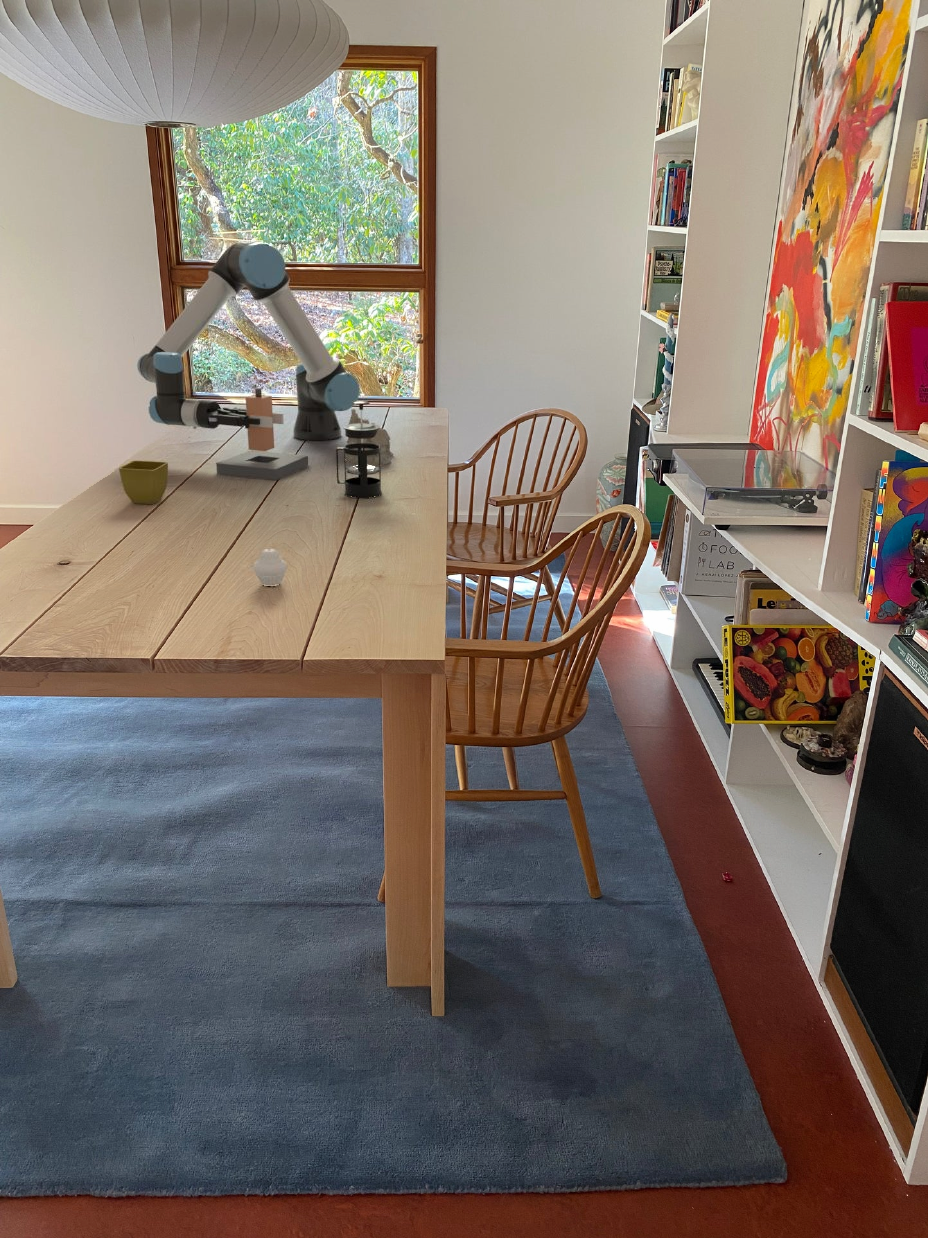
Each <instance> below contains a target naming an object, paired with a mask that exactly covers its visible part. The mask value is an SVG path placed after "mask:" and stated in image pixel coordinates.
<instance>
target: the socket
mask: <svg viewBox="0 0 928 1238" xmlns="http://www.w3.org/2000/svg"><path fill="white" fill-rule="evenodd" d="M215 466H216V473H217V474H216V475H221V476H223V475H224V476H233V477H241V478H250V479H258V478H261V479H260V480H266V481H267V480H268V481H279V480H280V478H281V479H283V478H285V477H287V476H290V475H292V474H294V473H296V471H297V472H299V471H301V470H303V469H304V470H305V469H306V468H307V466H308V467H309V455H305V454H304V455H303V454H296V453H295V454H293V453H285V452H275V451H274V452H273V451H257V450H249V451H246V452H243V453H240V454H237V455H235V456H232V457H229V458H227V459H224V460H221V461H218V462H216V463H215Z"/></svg>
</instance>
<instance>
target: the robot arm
mask: <svg viewBox="0 0 928 1238" xmlns="http://www.w3.org/2000/svg"><path fill="white" fill-rule="evenodd" d="M207 273H208V279H206V281H205V283H203V285H202V286H201V287H200V288H199V290H198V291H197V292H196V294H195V295H194V296H193V297H192V298H191V300H189V301H190V302H188V304H187V305H186V306H185V308H184V309H183V310H182V311H181V313H180V314H179V315H178V317H177V318H175V320H174V321H173V323H172V324H171V325H170V327H168V329H167V330H166V332H165V333H164V334H163V335H162V336H161V338H160V339H159V340H158V342H157V343H156V344H155V345H154V346H153V348H152V349H151V350H150V351H149V352H148V353H145V354H142V356H140V358H139V359H138V361H137V366H136V367H137V371H138V373H139V374H140V376H141V377H142V378H143V379H145V380H146V381H148V382H150V383H154V384H155V388H156V389H155V390H156V396H153V397H152V398H151V399H150V401H149V406H148V414H149V416H150V418H151V420H152V421H153V422H155V423H158V424H164V425H168V426H171V425H172V426H181V427H182V426H183V427H192V428H193V429H194V430H196V429H197V428H203V429H212V430H213V429H216V428H218V427H219V425H220V426H228V427H229V426H231V427H240V428H242V427H244V429H248V428H249V424H250V426H258V427H268V428H272V427H273V428H274V424H275V425H284V413H280V412H273V419H272V417H266V416H255V415H250V416H249V417H250V418H249V417H248V416H247V414H246V408H240V407H233V408H230V407H225V406H224V407H221V405H220V404H219V403H218V401H215V400H208V399H201V398H200V399H198V398H187V397H186V391H185V380H184V379H185V378H184V377H185V376H184V364H183V359H182V358H183V357H184V355H185V354H186V353H187V352H188V350H189V349H190V348H191V347H192V346H193V344H194V343H195V342H196V341H197V339H199V336H201V334H202V333H203V331H205V330H206V328H207V327H208V325H209V324H210V323H211V322H212V321H213V319H214V318H215V317H216V315H217V314H218V313H219V312H220V310H221V309H222V308H223V306H224V305H225V304H226V303H227V301H228V300H229V299H230V298H231V297H236V296H237V295H238V294H239V293H240V291H241V290H243V289H244V288H245V287H246V289H247V290H248V291H249V293H250V295H251V296H252V297H253V299H254V301H256V302H259V303H263V305H264V307H265V308H266V310H267V311H268V314H270V316H271V318H272V320H273V321H274V323H275V324H276V325H277V327H278V328H279V330H280V331H281V333H282V335H283V336H284V338H285V340H286V341H287V342H288V344H289V346H290V347H291V349H292V351H293V352H294V354H295V355H296V357H297V359H298V360H299V362H300V363H299V364H298V365H297V366H296V367H295V368H296V369H295V370H296V371H295V377H296V378H295V379H296V396H297V415H296V418H295V423H294V427H293V429H292V430H293V437H294V438H295V439H298V440H303V439H304V440H305V441H329V440H336V439H338V437H339V438H340V437H342V429H341V426H340V422H339V420H338V417H337V414H336V412H345V411H348V410H350V409H351V408H353V407H354V406H355V405H356V404H353V402H355V401H359V396H360V392H361V391H360V388H361V387H360V383H359V381H358V379H357V378H356V376H354V375H353V374H352V373H350V372H347V370H346V369H345V367H344V365H343V363H342V362H341V360H340V359H339V358H338V357H334V356H332V355H331V354H330V352H329V350H328V348H327V347H326V345H325V344H324V342H323V341H322V338H320V336H319V334H318V333H317V331H316V329H315V327H314V326H313V324H312V323H311V321H310V320H309V318H308V316H307V314H306V313H305V311H304V309H303V308H302V306H301V305H300V303H299V302H298V300H297V299H296V297H295V295H294V293H293V291H292V290H291V288H290V287H289V284H290V280H291V278H290V276H289V275H288V274H287V272H286V262H285V258H284V256H283V255H282V253H281V252H280V251H279V250H278V249H277V248H276V247H275V246H274V245H271V244H269V243H267V242H264V241H257V240H256V241H247V240H246V241H244V240H243V241H238V242H235V243H233V244H231V245H230V246H229V247H227V249H226V250H224V252H223V253H222V255H221V256H220V257H219V258H218V259H217V261H216V262H215V263H214V265H213V266H212V267H211V269H209V271H208V272H207ZM328 439H329V440H328Z"/></svg>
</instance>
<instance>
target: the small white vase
mask: <svg viewBox="0 0 928 1238" xmlns="http://www.w3.org/2000/svg"><path fill="white" fill-rule="evenodd" d="M252 568H253V571H254V572H255V576H256V578H257V579H258V580H259V582H260V584H261V585H262V584H265V585H275V584H279V583H280V584H282V581H283V580H284V577H285V575H286V572H287V569H288V564H287V562H286V561H285V560H284V559H283V558H282V557H281V556H280V552H279V551H278V550H276V549H275V548H274V549H273V548H268V549H267V548H266V549H263V550H261V551H260V553H259V557H257V560H256V561H255V562H254V563H253V567H252Z"/></svg>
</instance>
